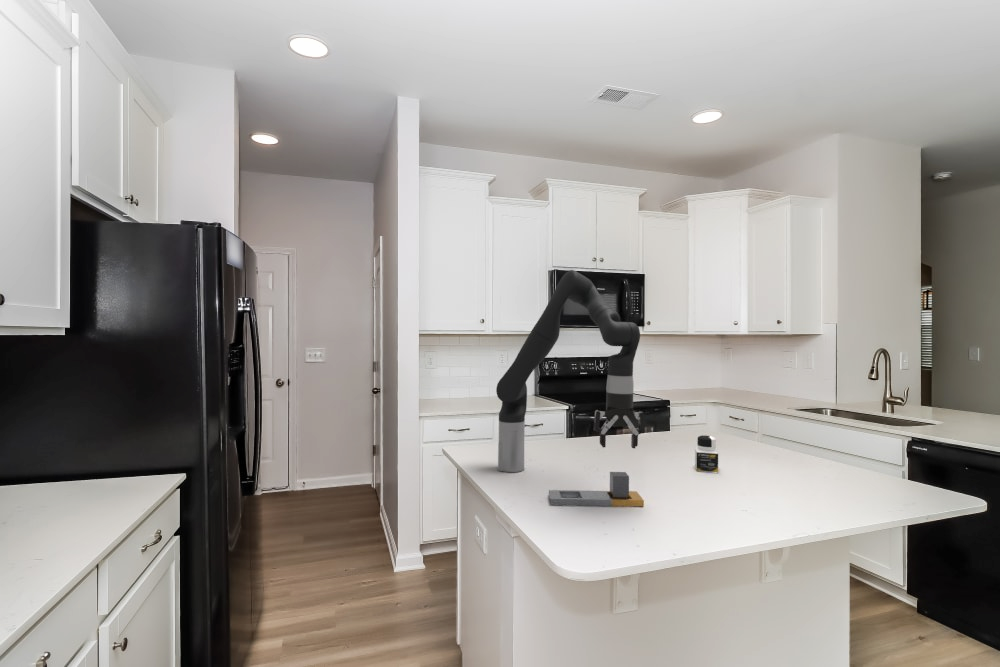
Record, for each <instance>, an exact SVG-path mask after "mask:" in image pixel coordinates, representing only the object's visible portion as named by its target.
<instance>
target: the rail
mask: <svg viewBox="0 0 1000 667" xmlns="http://www.w3.org/2000/svg"><path fill="white" fill-rule="evenodd" d="M569 497H580V498H569ZM548 499H550V500H549V502H550V503H551V504H550V506H563V505H585V506H584V507H628V506H644V505H645V503H644V502H645V499H643V498H642V496H641V495H640V493H639V492H638V491H636V490H635V491H633V490H629V499H611V498H610V490H574V489H573V490H571V489H570V490H567V489H566V490H565V489H549V490H548ZM644 507H645V506H644Z"/></svg>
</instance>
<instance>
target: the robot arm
mask: <svg viewBox="0 0 1000 667" xmlns="http://www.w3.org/2000/svg"><path fill="white" fill-rule="evenodd" d="M567 300H570V301H571V302H573V303H576V304H579V305H580V306H582V307H584V308H585V309H586V310H587V313H588V315H589V318H590V320H591V321H592V322H593V323H594V324H595V325H596V326H597V327H598V329H599V332H600V335H601V337H602V341H603V342H604V343H605V344H606V345H608V346H610V347H621V348H620V352H618V353H616V354H611V355H610V356H609V357H608V359H607V379H606V387H605V389H606V394H605V395H606V397H605V398H606V402H605V403H606V404H605V410H604V411H601V410H598V409H595V410H594V416H593V417H594V420H593V431H594V432H596V433H598V434H599V445H600V446H601V447H602V448H606V441H607V440H606V438H607V437H606V436H607V435H606V433H607V432H608V431H609V430H610V429H611V427H614V428H615V427H616V428H617V427H621V428H625V427H628V429H629V430H630V431H631V438H630V439H631V441H630V442H631V444H630V445H631V448H632V449H636V447H638V445H639V444H638V443H639V442H638V441H639V440H638V439H639V438H638V437H639V436H640V435H641V434H645V432H646V427H645V426H646V423H645V421H646V420H645V413H644V412H643V411H640V410H639V411H638V412H637V411H635V412H634V378H633V377H634V361H635V360H634V359H635V356H636V353H637V350H638V347H639V344H640V339H641V331H640V327H639V326H638V325H637V324H636V323H634V322H633V321H631V322H630V321H621V317H620V316H621V315H619V313H618V312H617V311H616V310H615V309H614V308H613V307H612V306H611V305H610V304H609V303H608V302H607V301H606V300H604V298H603V297H602V295H601V294H600V293H599V291H598V289H597V288H596V286H595V283H593V282H592V280H591V279H589V278H588V277H586V276H585V275H583V274H581V273H580V272H578V271H576V270H574V269H570V270H567V271H566V272H565V274H563V276H562V277H561V278H560V280H559V282H558V284H557V285H556V288H555V289H554V291H553V293H552V296H551V297H550V299H549V302H548V303H547V305H546V307H545V308H544V310H543V312H542V314H541V316H540V317H539V318H538V320H537V322H536V323H535V324H534V326H533V328H532V329H531V331H530V332H529V334H528V336H527V338H526V339H525V341H524V342H523V344H522V346H521V347H520V350H519V351H518V353H517V355H516V357H515V359H514V361H513V362H512V363H511V365H510V366H509V368H508V369H507V370H506V372H505V373H504V374H503V376H502V377H501V378H500V379H499V381H498V382H497V385H496V389H495V390H496V392H495V393H496V396H497V398H498V399H499V400H500V401H501V402H502V403H501V409H500V411H499V413H498V444H497V445H498V446H497V447H498V448H497V449H498V450H497V459H498V460H497V466H498V467H497V470H498V472H505V473H519V472H522V471H524V470H525V427H526V426H525V419H526V418H525V417H526V414H527V406H528V405H527V402H528V387H527V381H528V379H529V377H530V375H531V374H532V373H533V371H534V370H535V369H536V368H537V367H538V366H539V365H540V364H541V363H542V362H543V361H544V359H546V358H547V356H548V355H549V353H550V352H551V351H552V349H553V348H554V345H555V344H556V342H558V339H559V336H560V330H561V328H560V327H561V313H562V310H563V307H564V306H565V304H566V302H567ZM603 417H605V418H606V421H605V422H604V423H603V425H602V426H601V428H600V425H601V424H600V423H601V422H600V421H601V419H602V418H603ZM634 418H635V419H636V420H637V422H638V424H637V425H638V428H636V427H635V425H634V424H633V422H632V420H633V419H634Z"/></svg>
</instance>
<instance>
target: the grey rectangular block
mask: <svg viewBox="0 0 1000 667" xmlns="http://www.w3.org/2000/svg"><path fill="white" fill-rule="evenodd" d="M609 491H610V498H611V499H629V491H630V476H629V474H627V472H626V471H610V472H609Z"/></svg>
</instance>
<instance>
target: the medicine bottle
mask: <svg viewBox="0 0 1000 667" xmlns="http://www.w3.org/2000/svg"><path fill="white" fill-rule="evenodd" d="M696 442H697V444H696V445H697V446H696V447H695V448H694V467H695V471H696V472H700V471H703V472H702V473H704V472H705V473H712V472H717V473H716V474H718V473H719V452H718V450H717V448H716V447H717V446H716V445H717V444H716V442H717V439H716V437H714V436H711V435H705V434H704V435H699V436H698V437H697V440H696Z"/></svg>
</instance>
